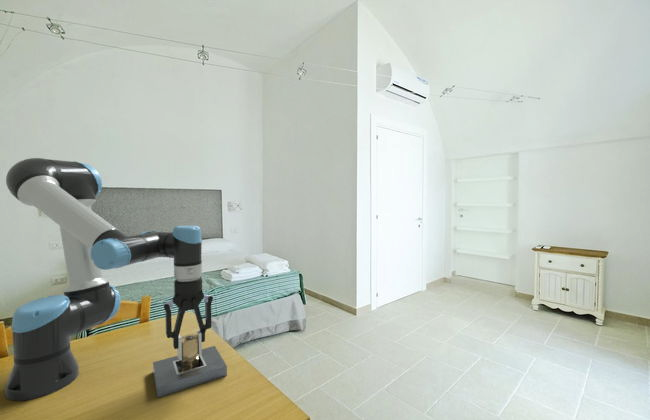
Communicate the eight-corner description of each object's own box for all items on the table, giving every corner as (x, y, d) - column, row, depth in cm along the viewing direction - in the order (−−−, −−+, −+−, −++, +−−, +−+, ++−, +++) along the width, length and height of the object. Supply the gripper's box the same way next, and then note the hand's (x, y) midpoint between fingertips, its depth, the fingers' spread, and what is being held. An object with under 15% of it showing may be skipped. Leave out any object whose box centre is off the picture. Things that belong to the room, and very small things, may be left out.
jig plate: (153, 371, 91) (152, 361, 90) (214, 354, 101) (214, 345, 101) (157, 397, 79) (157, 386, 79) (226, 375, 89) (226, 365, 89)
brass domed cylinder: (179, 366, 90) (179, 336, 90) (196, 361, 93) (196, 332, 93) (182, 374, 86) (181, 343, 86) (200, 368, 89) (199, 338, 89)
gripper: (154, 286, 80) (156, 371, 81) (222, 276, 90) (223, 352, 91) (152, 279, 87) (154, 358, 88) (216, 271, 97) (217, 342, 98)
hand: (189, 355), depth 90 cm, fingers closed on brass domed cylinder, 5 cm apart
